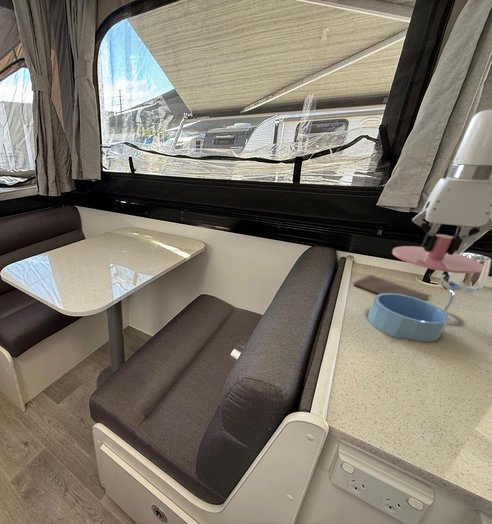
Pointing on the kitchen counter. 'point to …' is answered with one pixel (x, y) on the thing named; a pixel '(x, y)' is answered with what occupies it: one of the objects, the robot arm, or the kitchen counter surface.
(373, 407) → the kitchen counter surface
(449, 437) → the kitchen counter surface
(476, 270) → the pink knobbed lid
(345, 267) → the kitchen counter surface
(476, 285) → the wineglass
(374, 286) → the board
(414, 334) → the bowl
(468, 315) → the kitchen counter surface
